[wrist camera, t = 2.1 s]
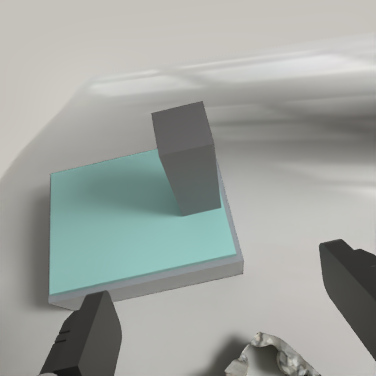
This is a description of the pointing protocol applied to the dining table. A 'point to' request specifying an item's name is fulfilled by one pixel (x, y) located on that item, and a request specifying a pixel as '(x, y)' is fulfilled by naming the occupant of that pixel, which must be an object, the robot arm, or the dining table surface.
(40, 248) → the dining table surface
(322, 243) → the robot arm
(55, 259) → the lid
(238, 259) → the open box
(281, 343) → the egg carton
